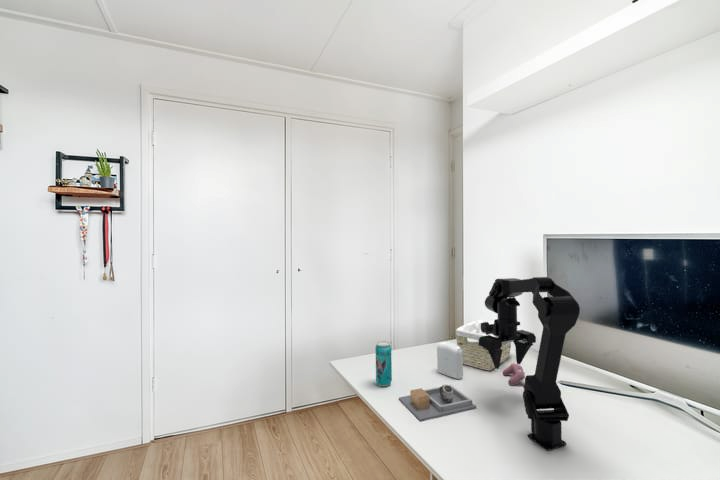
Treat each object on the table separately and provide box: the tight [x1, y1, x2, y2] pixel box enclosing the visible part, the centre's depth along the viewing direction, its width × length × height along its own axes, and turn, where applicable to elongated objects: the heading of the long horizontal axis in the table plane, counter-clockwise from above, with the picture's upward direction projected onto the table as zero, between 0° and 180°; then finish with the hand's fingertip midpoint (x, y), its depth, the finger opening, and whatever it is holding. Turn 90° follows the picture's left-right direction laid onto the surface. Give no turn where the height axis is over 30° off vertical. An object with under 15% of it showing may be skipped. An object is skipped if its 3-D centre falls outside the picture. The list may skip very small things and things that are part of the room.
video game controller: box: [502, 362, 526, 386], centre depth 123 cm, size 10×5×7 cm, turn 170°
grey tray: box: [398, 384, 477, 422], centre depth 107 cm, size 14×20×5 cm
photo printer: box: [436, 341, 464, 380], centre depth 129 cm, size 10×4×12 cm, turn 39°
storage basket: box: [455, 319, 512, 371], centre depth 143 cm, size 24×16×15 cm
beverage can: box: [375, 340, 393, 387], centre depth 122 cm, size 6×6×15 cm
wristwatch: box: [439, 384, 453, 403], centre depth 108 cm, size 4×6×5 cm, turn 15°
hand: (507, 366), depth 107 cm, fingers open, 9 cm apart
